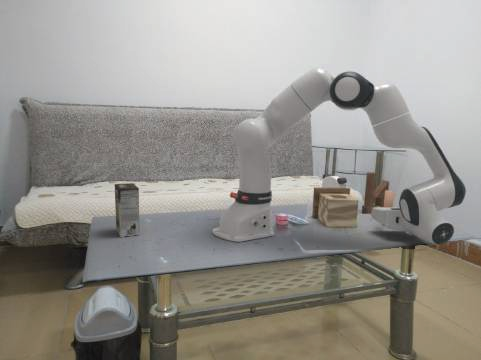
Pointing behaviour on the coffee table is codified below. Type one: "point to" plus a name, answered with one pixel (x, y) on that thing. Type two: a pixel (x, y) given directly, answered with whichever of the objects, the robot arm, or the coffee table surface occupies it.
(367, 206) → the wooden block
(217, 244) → the coffee table surface
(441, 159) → the robot arm
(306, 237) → the coffee table surface
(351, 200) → the socket block
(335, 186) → the panda figurine
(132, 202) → the coffee box
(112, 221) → the coffee table surface
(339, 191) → the jig
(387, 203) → the dowel
